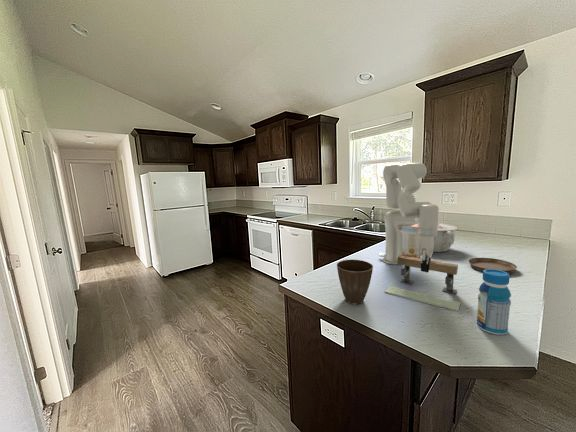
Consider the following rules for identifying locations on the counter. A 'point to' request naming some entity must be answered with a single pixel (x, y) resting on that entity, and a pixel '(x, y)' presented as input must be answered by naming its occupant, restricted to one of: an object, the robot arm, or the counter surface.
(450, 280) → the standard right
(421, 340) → the counter surface
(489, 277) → the beverage bottle
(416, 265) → the rail
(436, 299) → the board
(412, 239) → the cracker box
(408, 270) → the bracket
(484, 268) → the plant saucer
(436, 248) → the chamber pot
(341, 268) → the plant pot
